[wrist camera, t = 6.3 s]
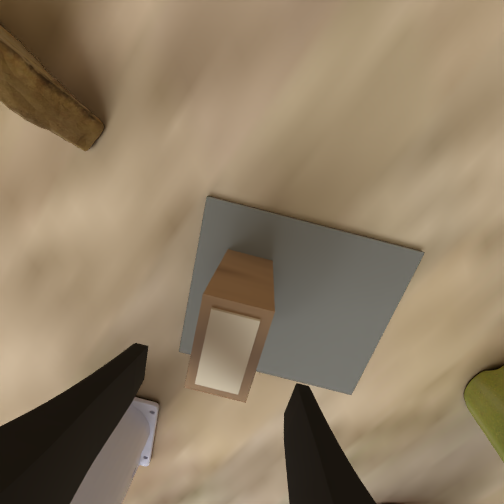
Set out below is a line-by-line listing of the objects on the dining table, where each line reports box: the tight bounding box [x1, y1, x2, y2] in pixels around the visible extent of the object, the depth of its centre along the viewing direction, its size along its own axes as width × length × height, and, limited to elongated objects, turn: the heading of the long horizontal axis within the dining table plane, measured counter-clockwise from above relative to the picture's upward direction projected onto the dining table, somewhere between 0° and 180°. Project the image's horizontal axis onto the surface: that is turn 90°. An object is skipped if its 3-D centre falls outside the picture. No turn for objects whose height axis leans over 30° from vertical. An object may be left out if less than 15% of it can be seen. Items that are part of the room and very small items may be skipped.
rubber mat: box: [179, 196, 424, 395], centre depth 19 cm, size 14×16×1 cm
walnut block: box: [184, 249, 275, 403], centre depth 15 cm, size 6×4×7 cm, turn 166°
